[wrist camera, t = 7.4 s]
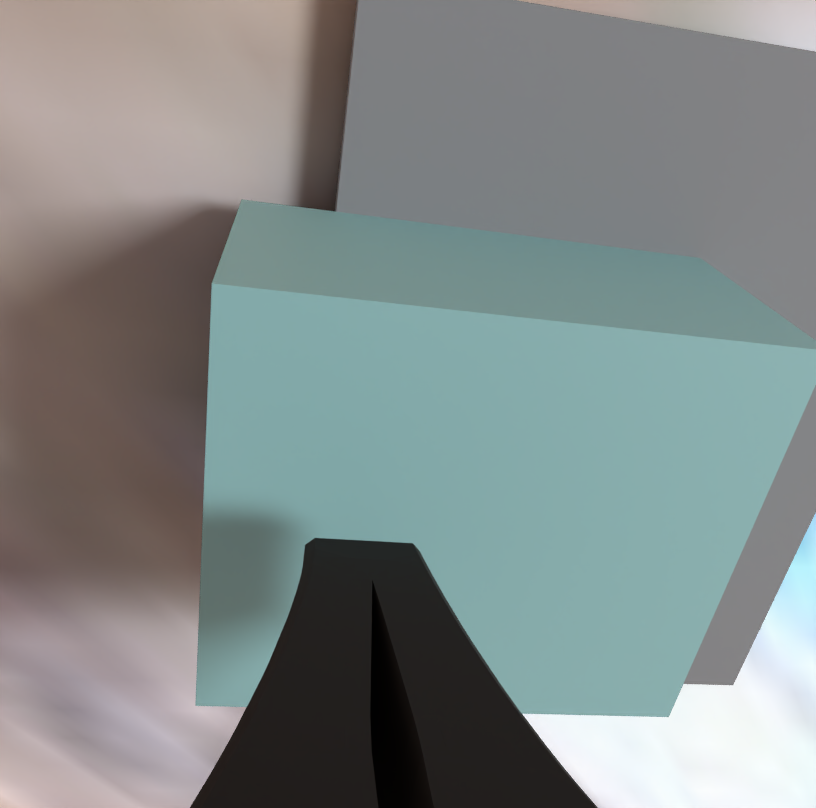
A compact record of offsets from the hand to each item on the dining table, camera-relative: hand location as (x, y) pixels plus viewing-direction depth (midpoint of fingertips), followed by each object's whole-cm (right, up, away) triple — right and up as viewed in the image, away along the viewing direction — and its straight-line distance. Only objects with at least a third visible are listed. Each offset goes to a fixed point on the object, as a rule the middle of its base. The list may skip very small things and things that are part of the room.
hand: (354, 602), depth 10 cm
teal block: (-2, +2, +3) cm, 4 cm away
